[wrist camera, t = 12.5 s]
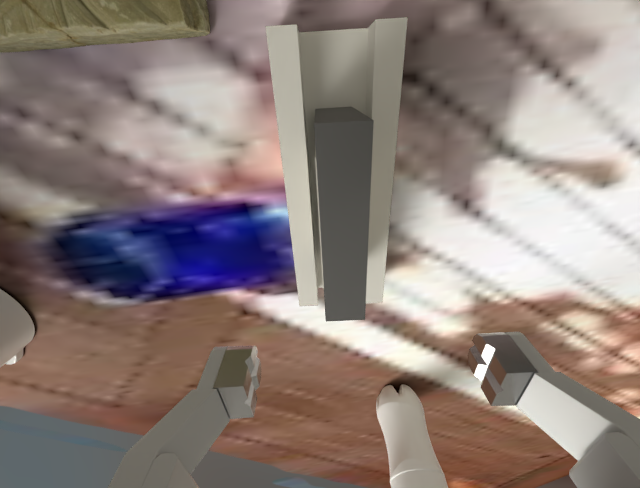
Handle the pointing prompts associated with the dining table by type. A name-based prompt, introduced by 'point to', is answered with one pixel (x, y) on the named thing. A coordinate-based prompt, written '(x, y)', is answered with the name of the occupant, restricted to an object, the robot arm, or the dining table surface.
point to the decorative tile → (97, 22)
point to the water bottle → (407, 440)
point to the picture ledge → (299, 135)
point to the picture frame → (343, 207)
